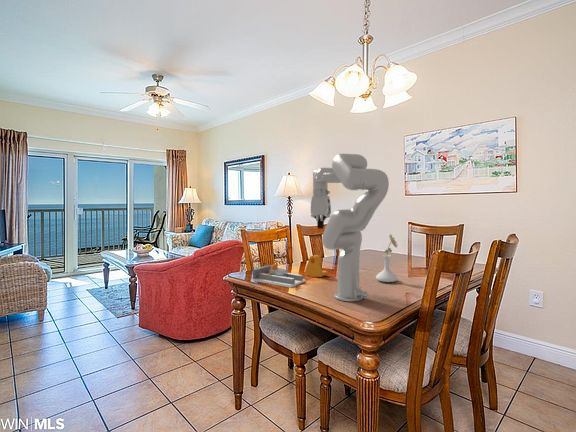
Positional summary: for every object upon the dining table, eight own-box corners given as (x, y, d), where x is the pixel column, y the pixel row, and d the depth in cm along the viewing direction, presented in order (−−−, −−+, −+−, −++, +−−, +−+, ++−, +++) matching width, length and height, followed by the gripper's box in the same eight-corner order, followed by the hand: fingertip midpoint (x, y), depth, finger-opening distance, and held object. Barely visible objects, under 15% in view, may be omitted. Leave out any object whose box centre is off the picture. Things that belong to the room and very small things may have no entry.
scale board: (305, 281, 168) (305, 270, 167) (290, 287, 156) (290, 275, 156) (268, 275, 182) (268, 265, 182) (252, 280, 170) (252, 269, 170)
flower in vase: (390, 285, 159) (390, 236, 158) (371, 280, 168) (371, 234, 167) (403, 280, 167) (404, 234, 166) (385, 276, 176) (385, 232, 175)
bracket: (327, 275, 180) (327, 255, 180) (320, 278, 175) (320, 257, 174) (312, 273, 187) (312, 253, 187) (305, 275, 182) (305, 255, 181)
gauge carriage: (291, 277, 171) (290, 264, 171) (279, 281, 162) (279, 267, 162) (279, 275, 176) (279, 262, 175) (267, 279, 167) (266, 266, 166)
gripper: (336, 193, 162) (336, 228, 163) (311, 193, 170) (311, 227, 171) (330, 193, 156) (330, 229, 156) (304, 193, 164) (304, 228, 165)
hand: (320, 228), depth 164 cm, fingers closed
